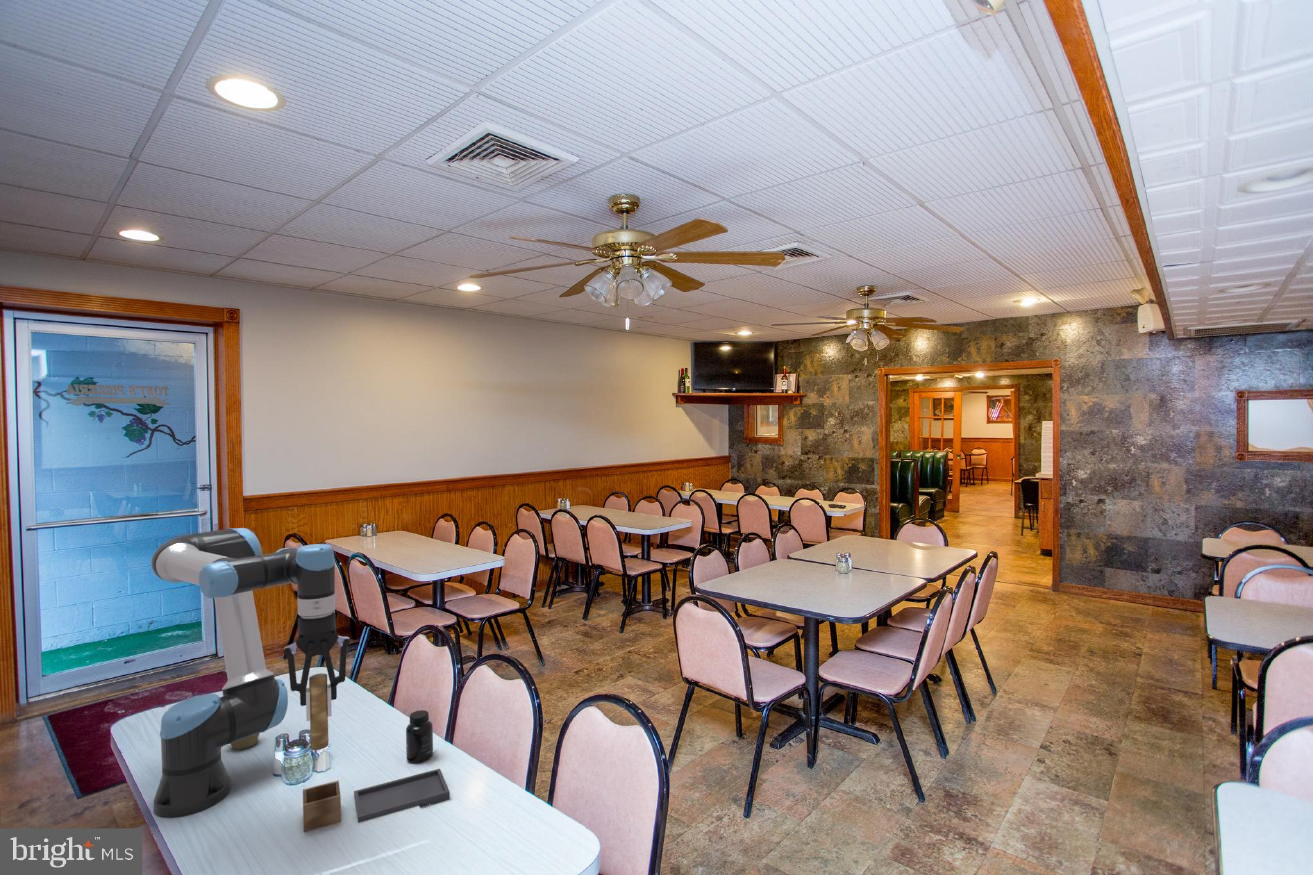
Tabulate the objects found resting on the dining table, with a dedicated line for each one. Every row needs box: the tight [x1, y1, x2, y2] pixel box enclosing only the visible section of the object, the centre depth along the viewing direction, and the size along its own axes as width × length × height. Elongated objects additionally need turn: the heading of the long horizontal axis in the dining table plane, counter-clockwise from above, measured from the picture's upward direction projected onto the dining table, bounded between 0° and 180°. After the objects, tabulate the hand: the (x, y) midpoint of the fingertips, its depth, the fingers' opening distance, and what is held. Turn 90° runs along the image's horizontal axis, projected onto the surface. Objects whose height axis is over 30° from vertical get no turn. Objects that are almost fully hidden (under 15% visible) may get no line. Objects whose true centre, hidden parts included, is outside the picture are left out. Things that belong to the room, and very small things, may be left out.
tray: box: [353, 768, 451, 823], centre depth 154 cm, size 20×12×2 cm, turn 119°
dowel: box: [308, 673, 329, 751], centre depth 146 cm, size 4×4×16 cm
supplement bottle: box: [405, 709, 434, 764], centre depth 173 cm, size 7×7×12 cm
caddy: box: [302, 780, 342, 833], centre depth 146 cm, size 7×7×6 cm
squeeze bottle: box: [230, 733, 261, 750], centre depth 182 cm, size 8×8×18 cm
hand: (319, 715), depth 146 cm, fingers closed on dowel, 3 cm apart
